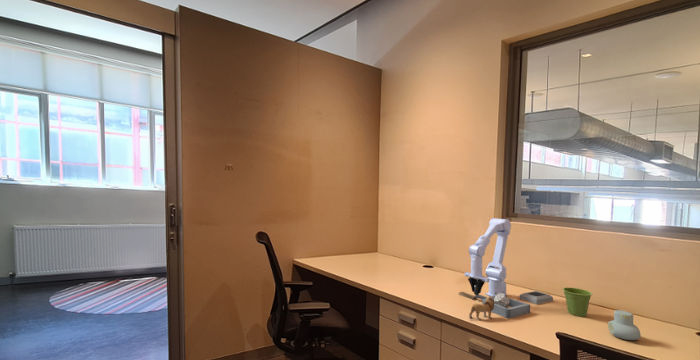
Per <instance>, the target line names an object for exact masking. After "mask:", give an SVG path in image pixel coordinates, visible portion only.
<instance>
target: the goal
mask: <svg viewBox="0 0 700 360" xmlns="http://www.w3.org/2000/svg"><path fill="white" fill-rule="evenodd" d="M508 298H509V299H511V300H510V301H509V305H510V306H508V307H507V308H505V307H503V306H500V305H497V304H494V309H493V310H492V311H491V313H493V314H496V315H498V316H501V317H504V318H506V319H512V318H516V317H520V316H524V315H528V314H530V313H531V304H529V303H527V302H523V301H520V300H518V299H514V298H511V297H508ZM481 300H482V299H481ZM485 301H486V300H482V301H481V302H482V303H481V304H484V303H485Z"/></svg>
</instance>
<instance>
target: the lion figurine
mask: <svg viewBox="0 0 700 360" xmlns="http://www.w3.org/2000/svg"><path fill="white" fill-rule="evenodd" d="M486 297H487V296H486ZM494 304H495V303H494V299H493V298H492V296H488V297H487V298H486V301H485V303H484V304H482V303H474V304H472V306H471V307H470V308H471V309H470V312H469V313H468V314H469V316H468V318H469V320H471V319H472V318H473V313H474V312H475V313H476V316H475V317H476V318H477V320H479V321H481V320H482V318H481V317H479V316H480V313H483V317H484V318H486V317H487V316H488V317H487V318H488V320H490V319H491V320H492V317H491V315H492V312H491V311H492V310H493V309H494ZM487 313H488V315H487Z"/></svg>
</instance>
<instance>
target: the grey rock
mask: <svg viewBox="0 0 700 360" xmlns="http://www.w3.org/2000/svg"><path fill="white" fill-rule="evenodd" d="M495 294H496V293H495ZM507 295H508V294H506V295H504V294H503V291H502V293H498V294H496V295H495V296H494V303H495V304H497V305H500V306H503V307H505V308H508V307H509V306H510V305H509V301H510V300H511V299H512V298H511V299H509V298H510V297H508V296H507Z"/></svg>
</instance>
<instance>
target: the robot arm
mask: <svg viewBox="0 0 700 360" xmlns="http://www.w3.org/2000/svg"><path fill="white" fill-rule="evenodd" d="M488 225H489V226H488V228H487V229H486V231H485V233H484V234H483V235H480V236H479V238H478V239H477V240H476V241H475V243H474V244H471V245H470V246H469V249H468V253H469V257H470V272H467V271H465V272H464V277H468V278H467V280H468V282H469V285H470V288H471V292H473V293H474V284H476V288H477V294H479V295H480V294H481V292H482V288H483V286H484V284H485V283H488V292H485V295H487V296H488V297H494V296H495V295H496V294H498V293H502V291H503V294H504V295H507V297H508V296H509V295H508V294H507V284H506V283H507V282H506V281H505V280H506V279H507V268H506V266H505V265H504V264H503V262H504V257H505V253H506V248H507V244H508V243H507V242H508V238H509V235H510V233H511V230H512V229H511V227H512V224H511V222H510V219H507V218H506V219H504V218H495V217H492V218H491V219H490V221H489V222H488ZM495 234H496V235H497V238H496V243H495V248H494V253H493V257H492V261H491V262H488V263H487V266H486V269H485V271H484V272H485V275H486V276H484V275H483V256H484V255H486V254H485V253H486V250H487V247H488V246H489V244H490V243H491V238H492V237H493V236H494V235H495ZM495 293H496V294H495Z"/></svg>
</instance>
